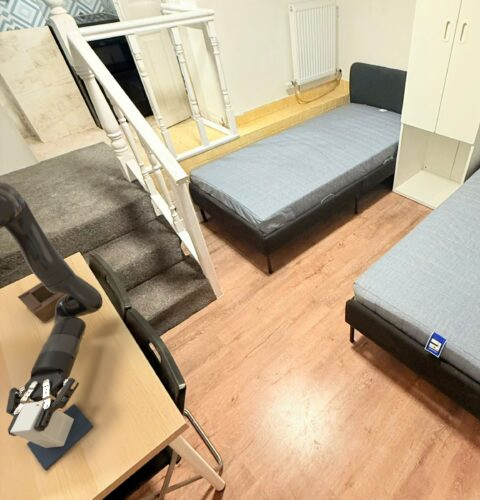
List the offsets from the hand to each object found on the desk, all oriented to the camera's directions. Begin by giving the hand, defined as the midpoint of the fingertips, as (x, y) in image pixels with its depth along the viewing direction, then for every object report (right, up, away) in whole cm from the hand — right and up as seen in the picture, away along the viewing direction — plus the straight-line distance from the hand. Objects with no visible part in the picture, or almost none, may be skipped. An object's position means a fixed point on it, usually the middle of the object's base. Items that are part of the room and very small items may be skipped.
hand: (26, 432), depth 70 cm
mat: (0, -6, +10) cm, 11 cm away
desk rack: (-25, +21, +38) cm, 50 cm away
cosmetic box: (0, -6, +9) cm, 11 cm away
